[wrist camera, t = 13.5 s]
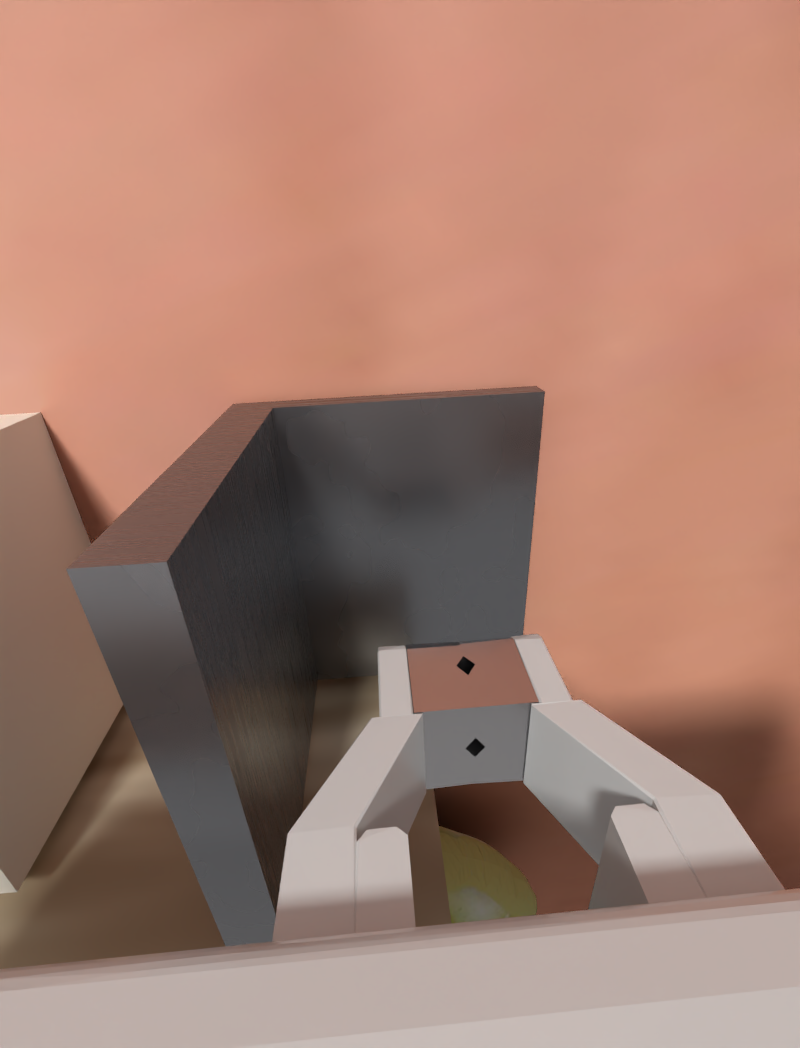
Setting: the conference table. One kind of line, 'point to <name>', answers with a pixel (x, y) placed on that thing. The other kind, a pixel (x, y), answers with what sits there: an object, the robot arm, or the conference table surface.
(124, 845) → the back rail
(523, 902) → the cell model
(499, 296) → the conference table surface
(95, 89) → the conference table surface
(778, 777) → the conference table surface
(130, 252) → the conference table surface
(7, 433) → the book ivory
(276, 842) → the bookend
